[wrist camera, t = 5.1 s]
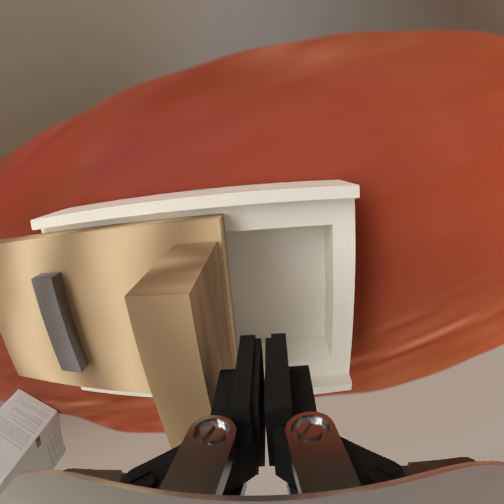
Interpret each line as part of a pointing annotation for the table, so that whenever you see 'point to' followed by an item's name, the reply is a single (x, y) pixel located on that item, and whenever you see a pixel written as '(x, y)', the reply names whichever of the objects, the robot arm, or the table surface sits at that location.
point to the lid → (124, 311)
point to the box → (268, 262)
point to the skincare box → (28, 436)
